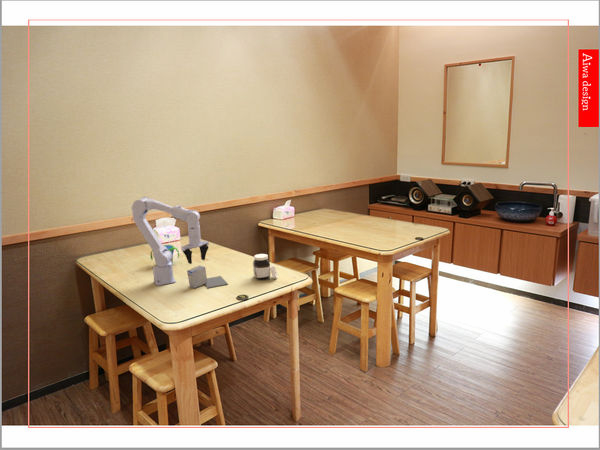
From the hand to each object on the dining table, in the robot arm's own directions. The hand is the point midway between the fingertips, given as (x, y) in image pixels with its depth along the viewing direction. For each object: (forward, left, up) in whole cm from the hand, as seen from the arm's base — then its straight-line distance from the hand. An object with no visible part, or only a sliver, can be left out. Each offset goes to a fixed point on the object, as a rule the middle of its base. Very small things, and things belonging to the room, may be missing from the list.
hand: (196, 261), depth 222 cm
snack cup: (-9, +37, -11) cm, 40 cm away
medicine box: (-1, -7, -10) cm, 12 cm away
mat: (+7, -7, -10) cm, 14 cm away
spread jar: (+32, -14, -11) cm, 36 cm away
